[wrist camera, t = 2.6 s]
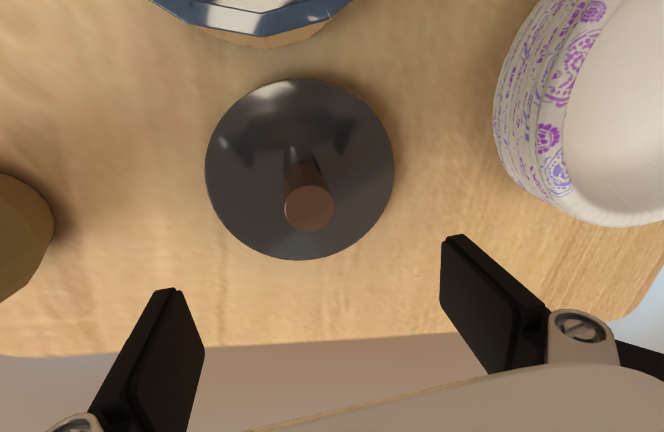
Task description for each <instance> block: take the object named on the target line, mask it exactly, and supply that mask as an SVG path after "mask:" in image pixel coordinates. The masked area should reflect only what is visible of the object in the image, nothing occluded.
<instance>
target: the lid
mask: <svg viewBox="0 0 664 432" xmlns="http://www.w3.org/2000/svg"><path fill="white" fill-rule="evenodd" d="M393 179H394V159H393V152H392V148H391V144H390V141H389V138H388V136H387V133H386V131H385V129H384V127H383V125H382V124H381V122H380V120H379V119H378V118H377V116H376V115H375V114H374V112H373V111H372V110H371V109H370V108H369V107H368V106H367V105H366V104H365V103H364V102H363V101H361V100H360V99H359V98H357V97H356V96H355V95H354V94H352V93H350V92H348V91H346V90H345V89H343V88H341V87H338V86H336V85H333V84H330V83H328V82H323V81H319V80H314V79H303V78H299V79H286V80H281V81H276V82H272V83H269V84H266V85H264V86H261V87H259V88H257V89H255V90H253V91H251V92H249V93H248V94H246V95H245V96H244V97H242V98H241V99H240V100H238V101H237V102H236V103H235V104H234V105H233V106H232V107H231V108H230V109H229V110H228V111H227V112H226V113H225V115H224V116H223V117H222V119H221V120H220V121H219V123H218V125H217V126H216V128H215V130H214V132H213V134H212V136H211V139H210V142H209V144H208V148H207V153H206V158H205V183H206V188H207V192H208V196H209V199H210V201H211V204H212V207H213V209H214V210H215V212H216V214H217V216H218V218H219V219H220V220H221V222H222V223H223V224H224V226H225V227H226V228H227V229H228V230H229V231H230V232H231V233H232V234H233V235H234V236H235V237H236V238H237V239H238V240H240V241H241V242H242V243H244V244H245V245H247V246H248V247H250V248H252V249H254V250H256V251H258V252H260V253H262V254H265V255H268V256H271V257H275V258H280V259H285V260H312V259H318V258H322V257H326V256H329V255H332V254H335V253H338V252H340V251H342V250H344V249H346V248H347V247H349V246H351V245H352V244H354V243H355V242H357V241H358V240H359V239H360V238H362V237H363V236H364V235H365V234H366V233H367V232H368V231H369V230H370V229H371V228H372V227H373V226H374V224H375V223H376V222H377V220H378V219H379V217H380V216H381V214H382V212H383V211H384V209H385V207H386V204H387V202H388V200H389V197H390V193H391V190H392V185H393Z"/></svg>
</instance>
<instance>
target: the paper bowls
mask: <svg viewBox="0 0 664 432" xmlns="http://www.w3.org/2000/svg"><path fill="white" fill-rule="evenodd" d="M493 135H494V139H495V145H496V147H497V152H498V154H499V157H500V160H501V163H502V165H503V167H504V168H505V170H506V172H507V173H508V174H509V175H510V177H511V179H512V180H513V181H514V182H515V183H516V184H517V185H518V186H519V187H521V188H522V189H523V190H525V191H526V192H528V193H530V194H531V195H533V196H535V197H537V198H539V199H541V200H543V201H545V202H547V203H548V204H550V205H552V206H554V207H556V208H558V209H560V210H562V211H564V212H566V213H568V214H570V215H572V216H574V217H575V218H577V219H579V220H581V221H583V222H586V223H589V224H593V225H598V226H605V227H634V226H640V225H646V224H650V223H654V222H657V221H661V220H664V0H539V1H538V3H537V5H536V6H535V7H534V9H533V10H532V11H531V13H530V14H529V16H528V17H527V18H526V20H525V21H524V23H523V24H522V26H521V27H520V29H519V31H518V32H517V34H516V37H515V39H514V41H513V42H512V44H511V49H510V51H509V53H507V55H506V57H505V60H504V62H503V66H502V68H501V72H500V76H499V78H498V82H497V87H496V91H495V96H494V102H493Z"/></svg>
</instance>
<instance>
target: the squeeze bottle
mask: <svg viewBox="0 0 664 432" xmlns="http://www.w3.org/2000/svg"><path fill="white" fill-rule="evenodd" d="M53 234H54V216H53V214H52V212H51V210H50V208H49V206H48V204H47V202H46V201H45V200H44V199H43V198H42V197H41V196H40V195H39V194H38V193H37V192H36V191H35V190H34V189H33V188H32V187H30V186H28V185H27V184H25V183H23V182H21V181H19V180H17V179H16V178H14V177H12V176H8V175H4V174H0V303H1V302H2V301H4V300H5V299H7V298H8V297H10V296H11V295H13V294H14V293H15V292H17V291H18V290H20V289H21V288H23V287H24V286H26V285H27V283H28V282H29V280H30V279H31V278H32V276H33V275H34V273H35V272H36V270H37V269H38V267H39V265H40V263H41V260H42V258H43V256H44V254H45V252H46V249H47V247H48V245H49V243H50V240H51V238H52V236H53Z"/></svg>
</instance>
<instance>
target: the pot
mask: <svg viewBox="0 0 664 432" xmlns="http://www.w3.org/2000/svg"><path fill="white" fill-rule="evenodd" d="M149 1H151V2H153V3H154V4H156V5H158V6H159V7H161V8H162V9H164V10H166V11H167V12H169V13H171V14H172V15H174V16H175V17H177V18H179V19H180V20H182V21H184V22H185V23H187V24H189V25H191V26H193V27H196V28H198V29H200V30H202V31H204V32H206V33H208V34H211V35H213V36H215V37H217V38H219V39H221V40H223V41H226V42H228V43H233V44H239V45H245V46H249V47H256V48H262V49H268V50H269V49H274V48H278V47H281V46H286V45H290V44H293V43H296V42H300V41H303V40H307V39H309V38H310V37H311V36H312V35H314V34H315V33H316V32H317V31H318V30H320V29H321V28H322V27H323V26H324V25H325V24H327V23H328V22H329V21H330V20H331V19H332V18H334V17H335V16H336V15H337V14H338V13H339V12H341V11H342V10H343V9H344V8H345V7H346V6H348V5H349V4H350V3H351V2H352V1H353V0H149Z"/></svg>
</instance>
